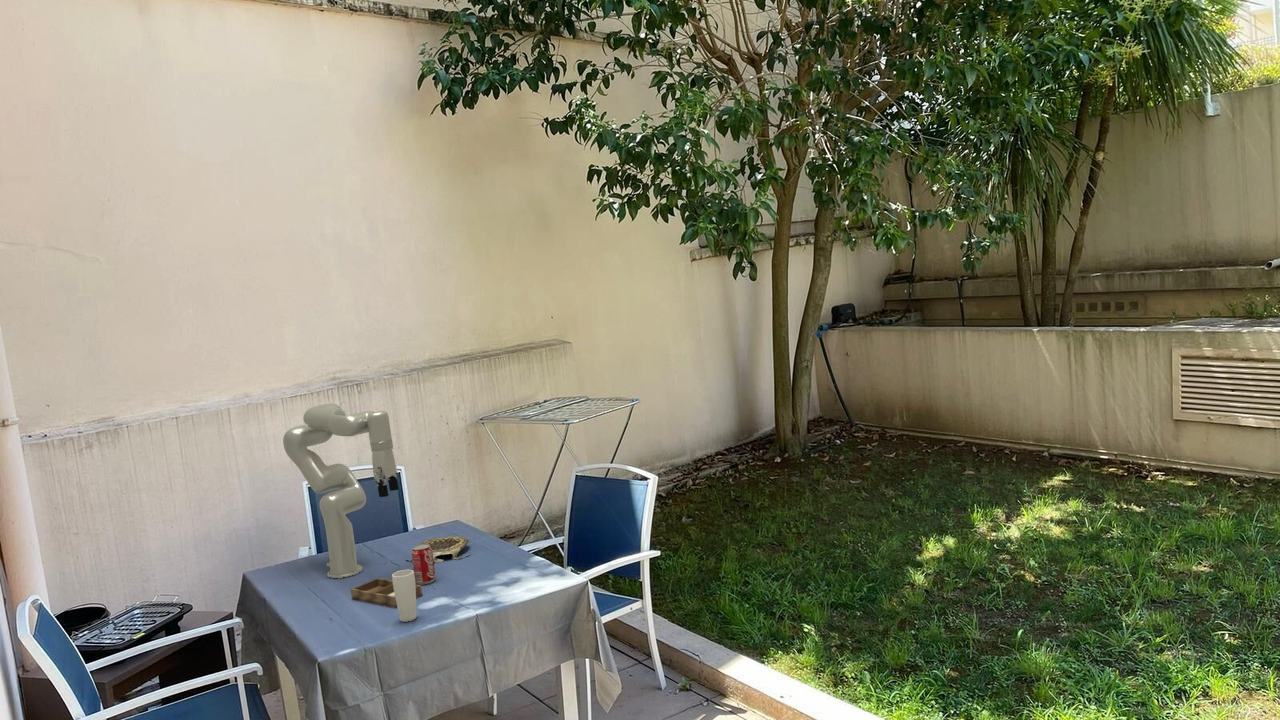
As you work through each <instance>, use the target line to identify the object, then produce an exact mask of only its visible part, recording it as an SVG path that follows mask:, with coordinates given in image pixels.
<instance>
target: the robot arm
mask: <svg viewBox="0 0 1280 720" xmlns="http://www.w3.org/2000/svg"><path fill="white" fill-rule="evenodd" d="M302 419H303V422H304V424H302V425H298V426H294V427H292V428H290V429H288V430H287V431H285V433H284V435H283V437H282V438H283V439H282V444H283V448H284V451H285V453H286V455H287V457H288V458H289V460H290V461H292V462H293V464H295V466H296V467H297V468H298V469H299V471H300V472H301V474H302V476H303V477H304V479H305V481H306V482H307V483H308V486H310V488H311V489H312V491H313V492H314V493H315V494H319V495H320V494H324V495H323V496H322V497H321V498H320V501H319V511H320V512H321V515H322V519H323V522H324V523H323V524H324V527H325V533H326V542H327V549H328V556H329V557H328V558H329V562H327V563H326V567H329V571H328V572H327V573H326V574H327V576H329V577H334V578H338V579H344V578H343V577H345V578H348V577H349V576H350V577H352V575H353V576H356V575H358V574H359V572H360V573H361V572H362V571H363V566H362V565H361V564H358V560H357V553H356V552H357V551H356V544H355V543H356V542H355V536H354V535H355V534H354V528H353V524H352V521H350V520H349V518H348V517H347V516H346V515H347V514H349V513H352V512H355V511H358V510H360V509H362V508H363V507H364V506H365V505H366V503H367V496H366V492H365V491H364V489H363V487H362V485H361V484H360V482H359V481H358V480H357V478H356V477H355V475H354V474H353V472H352V471H351V469H350V467H348V466H347V465H345V464H343V463H334V464H330V465H327V464H326V463H324V461H323V459H322V457H320V455H318V453H316V452H315V451H312V450H311V449H309V448H308V447H312V446H316V445H320V444H324V443H326V442H328V441H329V440H330V439H331V438H332V436H340V437H355V436H358V435H362V434H366V433H367V434H368V437H369V443H370V449H371V453H372V455H371V460H372V463H371V464H372V473H373V478H374V480H375V483H376V486H377V491H378V497H379V498H384V497H389V491H390V492H392V491H398V490H399V483H398V472H397V465H396V460H395V455H394V451H393V449H394V443H393V437H392V431H391V424H390V417H389V413H388V412H387V411H385V410H379V411H378V410H377V411H374V410H373V411H372V410H367V411H363V412H357V413H352V414H349V415H347V414H346V412H345V411H344V410H343V409H342V406H340V405H338V404H337V403H333V402H332V403H326V404H325V403H324V404H320V405H317V406H312V407H309V408H308V409H306V411H305V412H304V414H303V418H302ZM387 479H388V480H387ZM386 483H387V484H388V485H387V484H386ZM388 489H389V490H388ZM355 574H356V575H355ZM329 577H328V578H329Z"/></svg>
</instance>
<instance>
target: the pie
mask: <svg viewBox="0 0 1280 720" xmlns="http://www.w3.org/2000/svg"><path fill="white" fill-rule="evenodd" d="M469 541H470V540H469V538H467V537H463V536H458V535H457V536H444V537H442V536H441V537H438V538H437V537H436V538H431V539H428V540H423V541H422V542H420V543H418V544H417V545H420V544H430V547H431V548H432V553H433V560H434V562H435V563H434V564H438V563H443V562H444V561H445V559H442V558H436V557H437V556H441V555H442V556H444V555H450V554H451V555H452V557H451V559H452V560H455V559H456V560H461V559H462V557H458V556H459V555H460V553H461V552H462V550H463V549H464V548H465V547H466V546H467V544H468V543H469ZM460 551H461V552H460ZM459 552H460V553H459ZM458 554H459V555H458ZM457 555H458V556H457ZM454 556H456V557H454ZM411 560H412V559H411ZM411 560H409V562H410V561H411ZM442 561H443V562H442ZM411 562H412V561H411ZM437 562H438V563H437Z"/></svg>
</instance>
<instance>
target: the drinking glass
mask: <svg viewBox="0 0 1280 720" xmlns="http://www.w3.org/2000/svg"><path fill="white" fill-rule="evenodd" d="M391 580H392V582H393V589H394V593H395V598H396V602H397V611H398V617H399V620H400V622H403V623H407V622H408V621H409V622H412V621H415V620H416V619H417V617H418V613H417V598H416V586H415V584H416V582H415V575H414V569H401V570H398V571H395V572H393V573H392V574H391ZM409 622H408V623H409Z"/></svg>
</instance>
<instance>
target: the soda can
mask: <svg viewBox="0 0 1280 720" xmlns="http://www.w3.org/2000/svg"><path fill="white" fill-rule="evenodd" d="M411 549H412V551H411V558H412V559H411V560H412V565H413V571H414V576H415V584H416V585H421V586H425V585H429V584H432V583H433V582H435V581H436V578H437V577H436V576H437V575H436V570H435V569H436V568H435V563H434V560H433V553H432V548H431V547H430V544H420V545H418V544H416V545H414V546H413V547H412V548H411Z"/></svg>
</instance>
